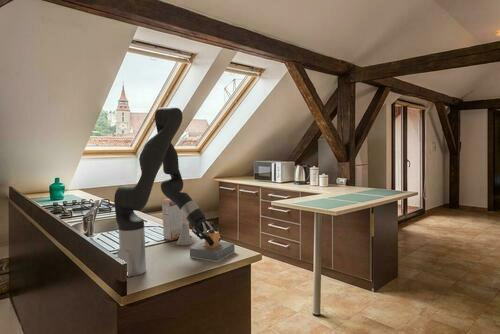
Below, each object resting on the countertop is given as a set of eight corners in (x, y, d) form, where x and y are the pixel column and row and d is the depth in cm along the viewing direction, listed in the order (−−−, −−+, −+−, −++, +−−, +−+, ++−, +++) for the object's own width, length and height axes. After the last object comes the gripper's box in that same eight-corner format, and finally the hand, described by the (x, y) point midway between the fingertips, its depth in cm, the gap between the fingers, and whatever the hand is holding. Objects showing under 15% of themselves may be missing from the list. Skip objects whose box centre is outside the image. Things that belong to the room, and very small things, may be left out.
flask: (185, 240, 171) (185, 221, 170) (195, 243, 166) (194, 223, 166) (174, 244, 165) (173, 224, 165) (183, 246, 161) (183, 226, 160)
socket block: (217, 262, 139) (216, 252, 139) (189, 257, 146) (189, 248, 145) (234, 252, 151) (234, 243, 151) (208, 248, 158) (208, 239, 158)
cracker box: (181, 233, 186) (180, 195, 185) (189, 234, 183) (188, 196, 182) (162, 239, 174) (161, 199, 173) (171, 240, 171) (170, 200, 170)
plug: (213, 253, 145) (213, 230, 145) (205, 252, 148) (204, 229, 147) (219, 250, 149) (218, 228, 149) (211, 249, 151) (210, 227, 151)
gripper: (187, 210, 144) (211, 242, 139) (206, 205, 157) (229, 233, 152) (178, 221, 147) (201, 253, 142) (198, 215, 160) (220, 243, 155)
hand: (215, 242), depth 147 cm, fingers closed on plug, 4 cm apart
